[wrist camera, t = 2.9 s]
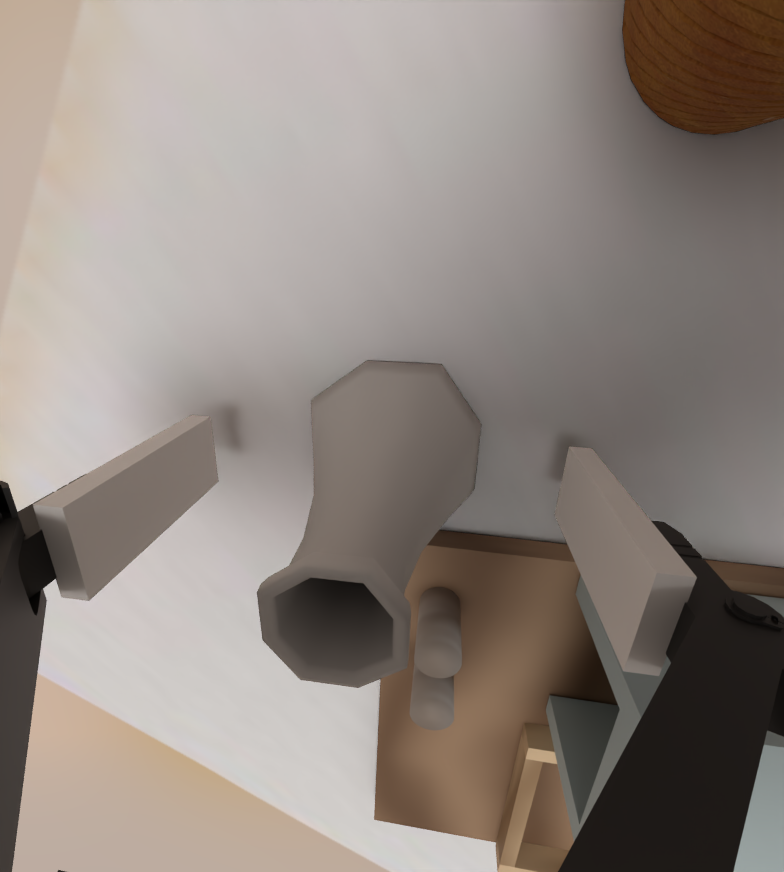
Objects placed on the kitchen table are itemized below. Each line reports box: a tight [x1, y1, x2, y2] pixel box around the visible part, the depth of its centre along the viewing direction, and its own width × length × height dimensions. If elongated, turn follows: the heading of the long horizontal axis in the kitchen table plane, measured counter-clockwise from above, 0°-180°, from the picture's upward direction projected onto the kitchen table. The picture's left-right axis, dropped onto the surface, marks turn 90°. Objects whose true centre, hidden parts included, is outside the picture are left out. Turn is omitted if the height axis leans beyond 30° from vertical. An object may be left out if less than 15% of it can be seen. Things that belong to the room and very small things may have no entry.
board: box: [374, 530, 784, 872], centre depth 20 cm, size 18×20×4 cm
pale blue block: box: [546, 575, 784, 872], centre depth 15 cm, size 8×8×6 cm
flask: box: [257, 361, 481, 688], centre depth 13 cm, size 7×7×10 cm
